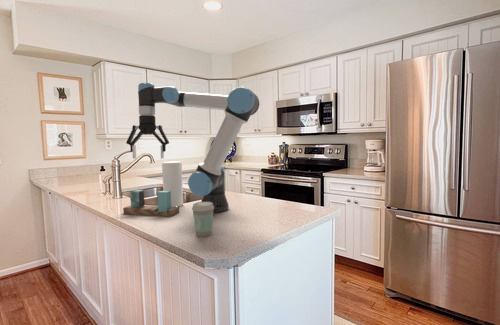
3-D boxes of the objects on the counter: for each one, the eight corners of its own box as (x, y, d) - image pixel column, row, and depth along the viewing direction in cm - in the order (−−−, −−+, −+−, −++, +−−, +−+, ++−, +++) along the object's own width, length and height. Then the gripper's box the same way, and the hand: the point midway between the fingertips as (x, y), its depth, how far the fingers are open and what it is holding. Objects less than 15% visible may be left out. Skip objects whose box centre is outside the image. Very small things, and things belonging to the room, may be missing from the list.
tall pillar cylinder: (186, 203, 163) (184, 161, 161) (178, 207, 152) (176, 162, 150) (169, 203, 165) (167, 161, 163) (160, 207, 154) (158, 162, 152)
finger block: (171, 210, 141) (170, 190, 140) (167, 212, 137) (166, 192, 136) (161, 209, 142) (160, 190, 141) (157, 211, 138) (156, 192, 137)
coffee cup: (194, 231, 111) (193, 201, 110) (215, 230, 112) (214, 201, 111) (191, 238, 103) (190, 206, 102) (214, 237, 103) (213, 205, 103)
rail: (179, 212, 141) (178, 190, 140) (171, 216, 134) (170, 193, 134) (132, 210, 149) (131, 189, 148) (123, 213, 142) (122, 191, 141)
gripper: (174, 116, 141) (175, 157, 143) (124, 116, 139) (125, 158, 141) (171, 114, 134) (172, 158, 135) (118, 114, 132) (119, 159, 134)
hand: (148, 158), depth 138 cm, fingers open, 13 cm apart
